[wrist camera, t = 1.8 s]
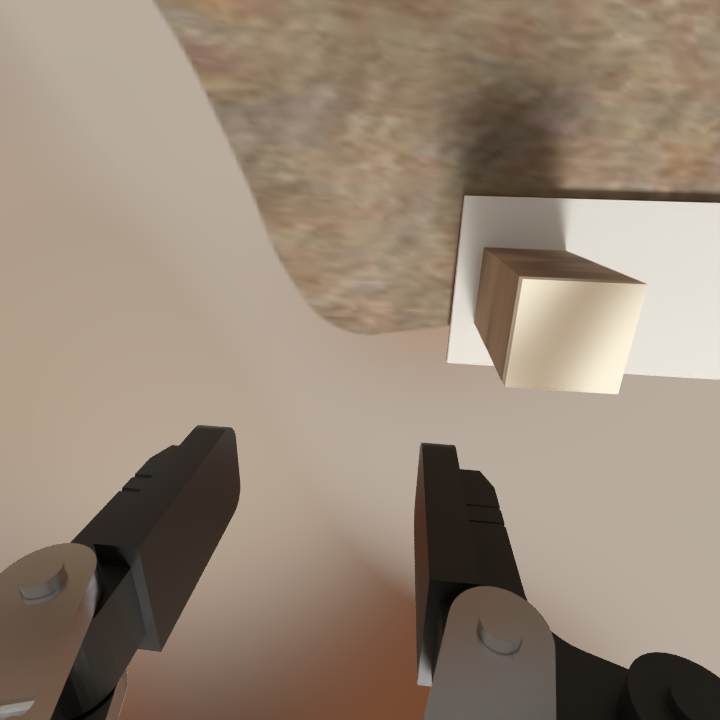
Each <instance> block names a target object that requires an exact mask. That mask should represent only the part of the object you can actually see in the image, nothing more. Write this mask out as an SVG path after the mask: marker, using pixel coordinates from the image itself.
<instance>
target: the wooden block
mask: <svg viewBox="0 0 720 720" xmlns="http://www.w3.org/2000/svg"><path fill="white" fill-rule="evenodd" d="M647 288H648V284H646V283H644V282H641V281H639V280H636V279H634V278H631V277H629V276H627V275H624V274H622V273H619V272H617V271H615V270H612V269H610V268H607V267H605V266H602V265H600V264H598V263H595V262H593V261H590V260H588V259H585V258H583V257H581V256H578V255H576V254H573V253H571V252H568V251H566V250H542V249H516V248H490V247H484V250H483V258H482V266H481V273H480V281H479V289H478V297H477V304H476V312H475V320H474V324H475V326H476V328H477V330H478V332H479V334H480V337H481V339H482V341H483V343H484V345H485V347H486V349H487V351H488V353H489V355H490V357H491V359H492V361H493V364H494V366H495V368H496V370H497V372H498V374H499V376H500V378H501V380H502V382H503V384H504V386H505V387H515V388H531V389H546V390H562V391H576V392H591V393H607V394H618V392H619V388H620V385H621V381H622V377H623V374H624V371H625V367H626V363H627V360H628V356H629V353H630V349H631V345H632V342H633V338H634V335H635V331H636V327H637V324H638V320H639V317H640V313H641V310H642V306H643V302H644V299H645V295H646V292H647Z"/></svg>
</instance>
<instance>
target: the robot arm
mask: <svg viewBox="0 0 720 720" xmlns="http://www.w3.org/2000/svg"><path fill="white" fill-rule="evenodd" d="M239 495H240V476H239V466H238V455H237V445H236V436H235V432H234V430H233V429H232V428H230V427H217V426H204V425H198V426H196V427H195V428H194V429H193V430H192V432H191V433H190V434H189V435H188V436H187V437H186V438H185V440H184V441H183V442H182V443H181V444H180V445H179V446H175V445H172V446H170V447H168V448H167V449H165V450H163V451H161V452H160V453H158V454H156V455H155V456H153V457H152V458H150V459H149V460H148V461H147V462H146V463H145V464H144V465H143V467H142V468H141V469H140V470H139V471H138V472H137V473H136V474H135V477H132V478H131V479H130V480H129V481H128V483H126V484H125V486H124V487H123V488H122V491H119V492H118V493H117V494H116V495H115V496H114V497H113V498H112V499H111V500H110V501H109V502H108V503H107V505H106V506H105V507H104V508H103V509H102V510H101V511H100V512H99V513H98V514H97V515H96V516H95V517H94V518H93V519H92V520H91V521H90V523H89V524H88V525H87V526H86V527H85V528H84V529H83V530H82V531H81V532H80V533H79V534H78V535H77V536H76V537H75V538H74V540H73V541H72V542H71V543H63V544H58V545H52V546H49V547H45V548H42V549H40V550H37V551H35V552H32V553H30V554H28V555H26V556H25V557H23V558H21V559H19V560H17V561H16V562H14V563H13V564H12V565H10V566H9V567H8V568H6V569H5V570H4V571H3V572H1V573H0V720H118V718H119V714H120V711H121V707H122V704H123V700H124V697H125V693H126V690H127V685H128V674H127V669H126V668H127V666H128V664H129V662H130V661H131V659H132V657H133V656H134V654H135V652H136V651H137V649H144V650H151V651H159V652H161V651H162V649H163V647H164V645H165V643H166V641H167V639H168V637H169V635H170V634H171V632H172V630H173V628H174V626H175V624H176V622H177V620H178V619H179V617H180V615H181V613H182V611H183V609H184V607H185V605H186V603H187V601H188V600H189V598H190V596H191V594H192V592H193V590H194V588H195V586H196V584H197V583H198V581H199V578H200V577H201V575H202V573H203V571H204V569H205V567H206V566H207V563H208V562H209V560H210V558H211V556H212V554H213V552H214V550H215V549H216V547H217V545H218V543H219V541H220V539H221V537H222V535H223V533H224V532H225V530H226V528H227V526H228V524H229V522H230V520H231V518H232V516H233V514H234V512H235V510H236V507H237V505H238V501H239ZM499 508H500V506H499V503H498V499H497V496H496V492H495V489H494V487H493V486H492V485H491V483H490V482H489V481H488V480H487V479H486V478H485V477H484V475H483V474H482V473H481V472H480V471H474V470H462V469H460V468H459V463H458V457H457V452H456V447H455V446H454V445H444V444H431V443H421V446H420V454H419V465H418V475H417V486H416V497H415V513H414V514H415V515H414V549H415V598H416V599H415V601H416V651H417V652H416V653H417V684H418V685H425V686H431V691H430V695H429V699H428V703H427V707H426V712H425V716H424V720H720V678H719V677H718V676H716V675H715V674H713V673H712V672H711V671H709V670H707V669H706V668H704V667H702V666H700V665H698V664H697V663H694V662H692V661H690V660H688V659H685V658H682V657H680V656H677V655H673V654H668V653H659V652H654V653H647V654H644V655H641V656H640V657H638V658H637V659H635V660H634V662H633V663H632V664H631V666H630V668H629V669H626V668H624V667H621V666H619V665H617V664H614V663H612V662H609V661H607V660H604V659H602V658H599V657H597V656H594V655H592V654H590V653H587V652H585V651H582V650H580V649H578V648H576V647H574V646H572V645H570V644H569V643H567V642H565V641H564V640H562V639H561V638H559V637H558V636H557V635H555V634H554V633H553V632H551V630H550V628H549V626H548V624H547V623H546V621H545V620H544V618H543V617H542V615H541V614H540V613H539V612H538V611H537V610H536V609H535V608H534V607H533V606H532V605H531V604H530V603H529V602H528V601H527V599H526V596H525V594H524V590H523V586H522V583H521V580H520V576H519V573H518V569H517V566H516V562H515V559H514V555H513V552H512V548H511V545H510V541H509V538H508V534H507V531H506V528H505V527H504V520H503V517H502V513H501V511H500V509H499Z"/></svg>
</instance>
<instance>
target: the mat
mask: <svg viewBox="0 0 720 720" xmlns="http://www.w3.org/2000/svg"><path fill="white" fill-rule="evenodd" d="M484 247H490V248H516V249H542V250H566V251H568V252H571V253H573V254H576V255H578V256H581V257H583V258H585V259H588V260H590V261H593V262H595V263H598V264H600V265H602V266H605V267H607V268H610V269H612V270H615V271H617V272H619V273H622V274H624V275H627V276H629V277H631V278H634V279H636V280H639V281H641V282H644V283H646V284H648V288H647V292H646V295H645V299H644V302H643V306H642V310H641V313H640V317H639V320H638V324H637V327H636V331H635V335H634V338H633V342H632V345H631V349H630V353H629V356H628V360H627V363H626V367H625V371H624V374H637V375H653V376H670V377H687V378H704V379H720V203H704V202H670V201H636V200H601V199H567V198H532V197H498V196H464V202H463V211H462V220H461V229H460V238H459V248H458V257H457V266H456V275H455V284H454V294H453V303H452V312H451V321H450V331H449V340H448V350H447V358H446V360H447V363H458V364H474V365H490V366H494V364H493V361H492V359H491V357H490V355H489V353H488V351H487V349H486V347H485V345H484V343H483V341H482V339H481V337H480V334H479V332H478V330H477V328H476V326H475V324H474V320H475V312H476V304H477V297H478V289H479V281H480V273H481V266H482V258H483V250H484Z"/></svg>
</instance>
